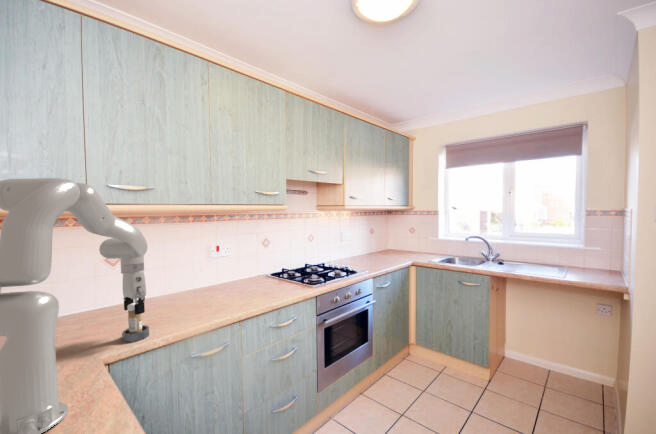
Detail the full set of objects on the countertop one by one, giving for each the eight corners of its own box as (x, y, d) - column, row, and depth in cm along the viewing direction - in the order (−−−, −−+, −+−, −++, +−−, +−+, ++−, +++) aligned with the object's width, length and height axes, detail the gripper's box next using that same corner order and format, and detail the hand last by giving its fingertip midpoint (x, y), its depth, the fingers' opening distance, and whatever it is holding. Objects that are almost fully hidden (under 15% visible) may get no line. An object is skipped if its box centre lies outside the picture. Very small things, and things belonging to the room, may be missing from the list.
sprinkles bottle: (145, 336, 113) (143, 302, 113) (133, 341, 109) (131, 306, 109) (138, 334, 115) (136, 301, 115) (126, 339, 111) (124, 305, 110)
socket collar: (153, 335, 113) (152, 328, 113) (128, 344, 106) (127, 336, 106) (143, 330, 118) (142, 323, 118) (119, 339, 111) (118, 331, 111)
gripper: (153, 268, 109) (154, 312, 109) (133, 264, 119) (135, 305, 119) (131, 272, 103) (132, 318, 103) (112, 268, 113) (114, 310, 113)
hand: (134, 311), depth 111 cm, fingers open, 9 cm apart
